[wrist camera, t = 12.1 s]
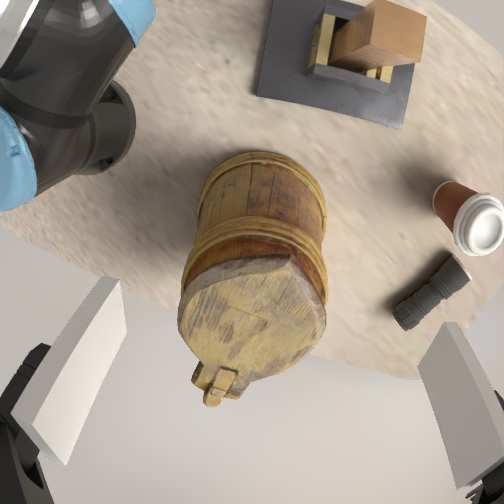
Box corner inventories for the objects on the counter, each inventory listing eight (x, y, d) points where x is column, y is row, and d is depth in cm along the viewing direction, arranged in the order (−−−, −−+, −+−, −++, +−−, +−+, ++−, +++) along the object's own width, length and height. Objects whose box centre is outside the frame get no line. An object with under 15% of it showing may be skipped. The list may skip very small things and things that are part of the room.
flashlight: (402, 319, 55) (410, 339, 50) (386, 305, 53) (394, 325, 49) (462, 266, 49) (475, 283, 44) (449, 249, 47) (463, 265, 42)
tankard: (342, 175, 43) (407, 267, 21) (286, 304, 54) (290, 433, 32) (218, 134, 41) (155, 188, 19) (183, 274, 52) (132, 395, 31)
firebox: (256, 96, 39) (252, 96, 31) (275, -11, 31) (275, -34, 23) (398, 129, 39) (425, 139, 31) (416, 28, 31) (446, 18, 23)
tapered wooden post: (325, 65, 35) (370, 44, 17) (330, 36, 33) (377, -6, 15) (355, 72, 35) (420, 62, 17) (360, 44, 33) (427, 13, 15)
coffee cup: (475, 177, 41) (519, 205, 30) (462, 229, 45) (499, 265, 35) (431, 167, 41) (473, 193, 30) (418, 222, 45) (452, 260, 35)
